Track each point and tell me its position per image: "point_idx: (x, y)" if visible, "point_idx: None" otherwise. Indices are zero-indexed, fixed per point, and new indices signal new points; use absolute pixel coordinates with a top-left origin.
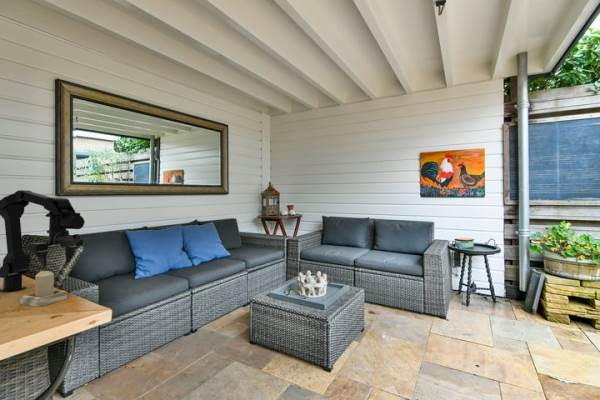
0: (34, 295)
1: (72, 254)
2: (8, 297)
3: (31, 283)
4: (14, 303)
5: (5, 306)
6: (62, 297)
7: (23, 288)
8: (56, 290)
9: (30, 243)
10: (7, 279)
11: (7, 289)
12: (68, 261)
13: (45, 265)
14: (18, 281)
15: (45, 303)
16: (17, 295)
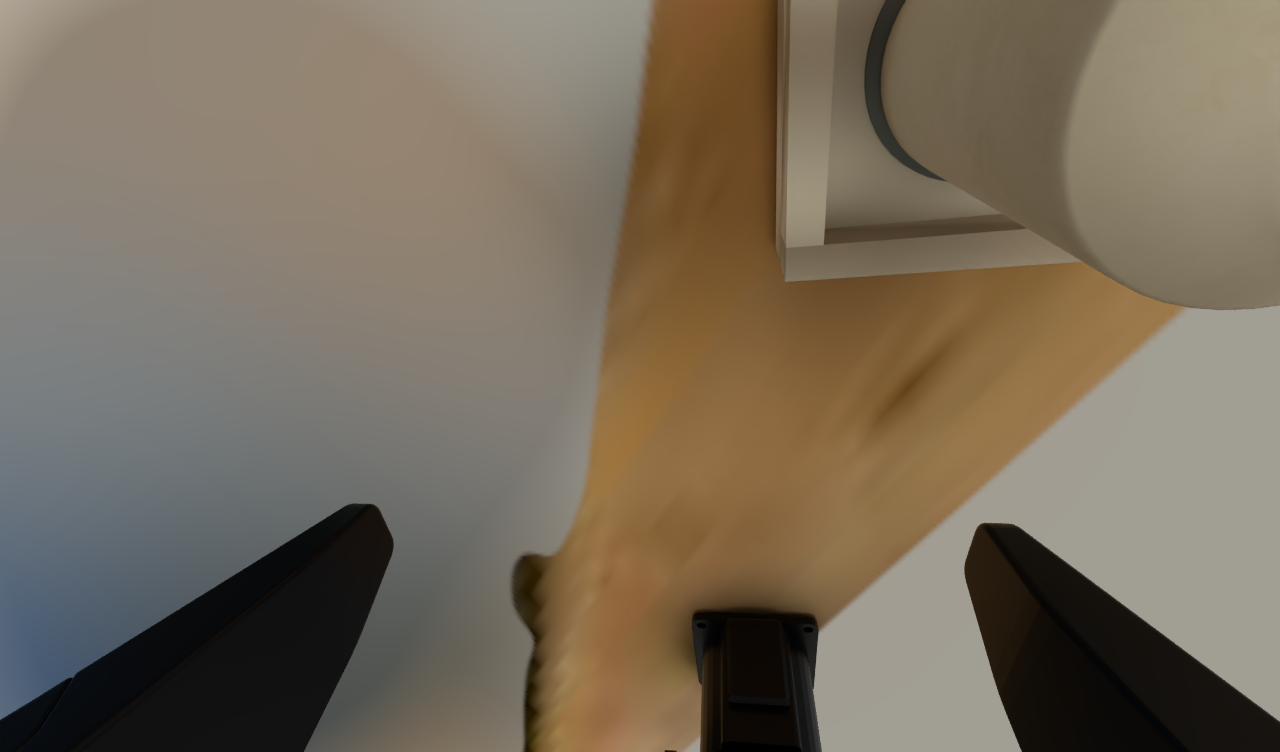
0: (1007, 219)
1: (34, 714)
2: (921, 519)
3: (601, 669)
4: (1096, 303)
5: None
6: None
7: (712, 614)
8: (815, 78)
9: None
10: (817, 743)
11: (804, 652)
12: (345, 536)
13: (1034, 560)
14: (760, 682)
15: None
16: (854, 512)
